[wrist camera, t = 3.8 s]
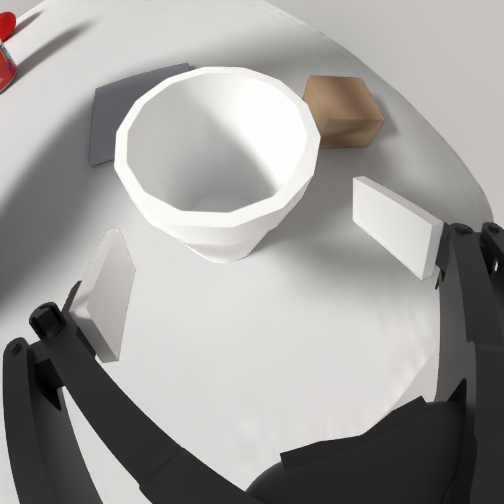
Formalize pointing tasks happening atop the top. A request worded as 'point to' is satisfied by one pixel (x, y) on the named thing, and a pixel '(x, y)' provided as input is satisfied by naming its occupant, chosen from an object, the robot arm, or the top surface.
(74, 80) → the top surface
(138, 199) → the foam cup
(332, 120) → the walnut block
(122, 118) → the mat
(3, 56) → the soda can
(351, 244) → the top surface
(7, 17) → the tomato
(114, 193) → the top surface
